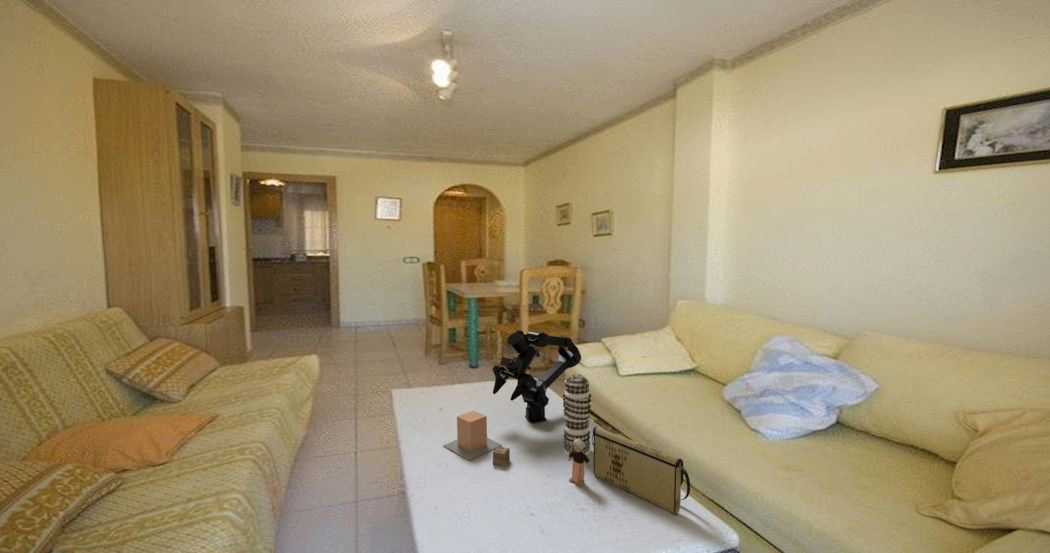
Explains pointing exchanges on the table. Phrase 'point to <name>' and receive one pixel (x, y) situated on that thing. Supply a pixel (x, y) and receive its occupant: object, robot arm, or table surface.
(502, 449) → the letter cube
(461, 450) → the rubber mat
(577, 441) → the grandmother figurine
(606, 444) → the clutch purse
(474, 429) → the tan cardboard box
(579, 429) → the decorative candle
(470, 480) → the table surface
